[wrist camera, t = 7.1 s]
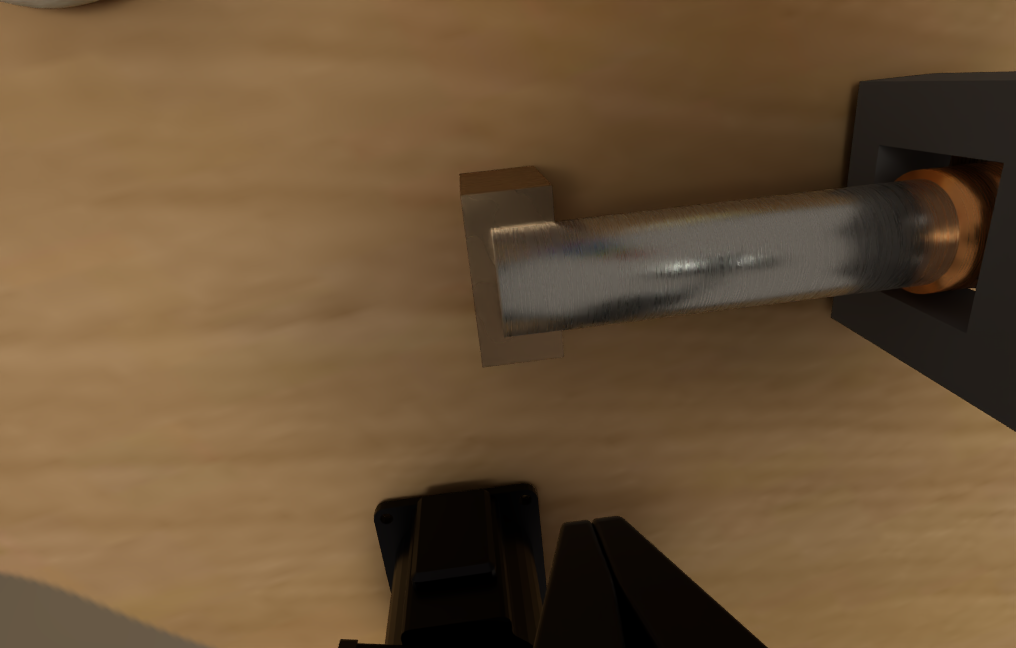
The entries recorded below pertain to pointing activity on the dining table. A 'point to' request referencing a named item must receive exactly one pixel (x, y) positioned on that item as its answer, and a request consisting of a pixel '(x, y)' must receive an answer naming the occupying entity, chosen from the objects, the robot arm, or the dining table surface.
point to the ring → (1009, 248)
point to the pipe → (711, 252)
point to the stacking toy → (48, 3)
